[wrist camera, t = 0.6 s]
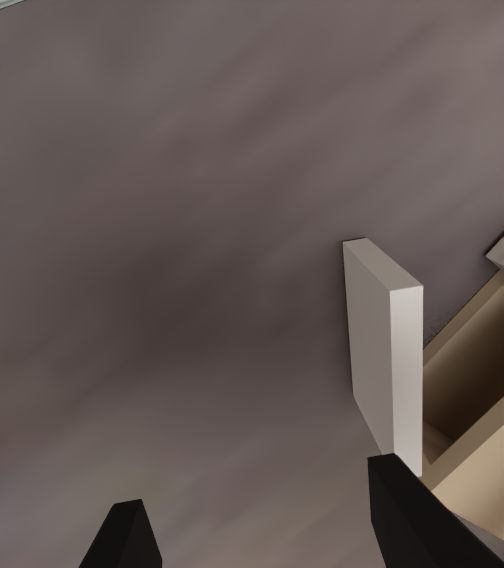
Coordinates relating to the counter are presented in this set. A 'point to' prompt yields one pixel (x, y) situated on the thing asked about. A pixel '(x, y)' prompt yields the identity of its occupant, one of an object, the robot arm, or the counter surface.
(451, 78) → the counter surface
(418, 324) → the door
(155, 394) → the counter surface
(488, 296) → the beige rectangular block
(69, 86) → the counter surface
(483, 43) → the counter surface
